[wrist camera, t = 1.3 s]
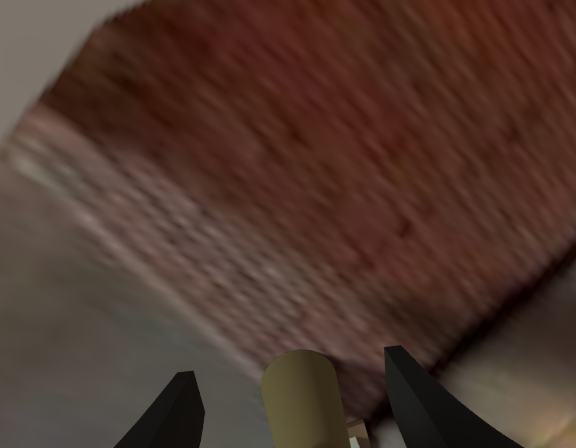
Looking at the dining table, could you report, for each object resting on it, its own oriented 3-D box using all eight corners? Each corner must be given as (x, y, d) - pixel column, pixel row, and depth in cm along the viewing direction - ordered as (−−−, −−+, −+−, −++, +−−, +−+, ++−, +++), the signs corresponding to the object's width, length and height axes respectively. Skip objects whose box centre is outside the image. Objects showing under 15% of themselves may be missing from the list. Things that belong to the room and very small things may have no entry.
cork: (290, 336, 26) (322, 469, 15) (352, 372, 27) (422, 518, 16) (244, 397, 26) (244, 567, 16) (307, 429, 28) (347, 606, 17)
